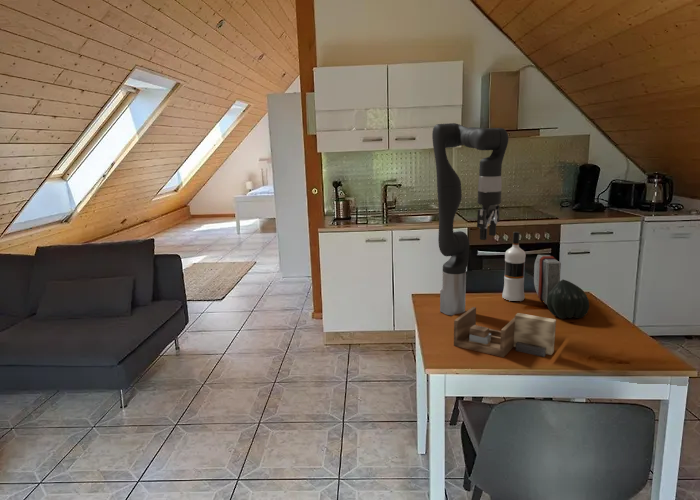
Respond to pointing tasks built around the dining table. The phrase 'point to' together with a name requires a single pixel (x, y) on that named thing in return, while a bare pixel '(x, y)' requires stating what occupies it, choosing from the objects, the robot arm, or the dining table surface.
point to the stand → (531, 349)
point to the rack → (499, 339)
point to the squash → (567, 300)
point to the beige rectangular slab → (535, 331)
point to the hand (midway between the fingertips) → (487, 237)
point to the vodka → (514, 272)
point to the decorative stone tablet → (546, 275)
